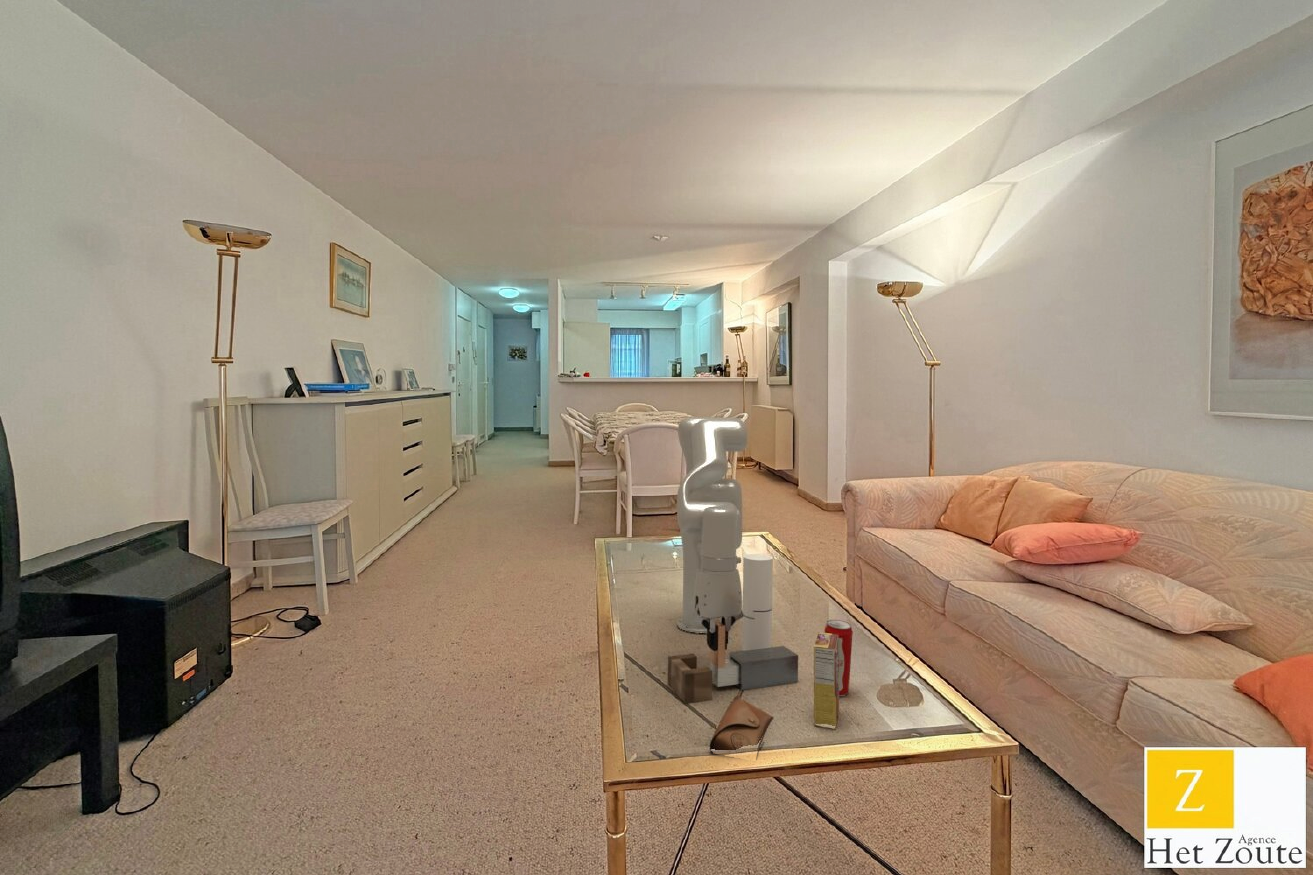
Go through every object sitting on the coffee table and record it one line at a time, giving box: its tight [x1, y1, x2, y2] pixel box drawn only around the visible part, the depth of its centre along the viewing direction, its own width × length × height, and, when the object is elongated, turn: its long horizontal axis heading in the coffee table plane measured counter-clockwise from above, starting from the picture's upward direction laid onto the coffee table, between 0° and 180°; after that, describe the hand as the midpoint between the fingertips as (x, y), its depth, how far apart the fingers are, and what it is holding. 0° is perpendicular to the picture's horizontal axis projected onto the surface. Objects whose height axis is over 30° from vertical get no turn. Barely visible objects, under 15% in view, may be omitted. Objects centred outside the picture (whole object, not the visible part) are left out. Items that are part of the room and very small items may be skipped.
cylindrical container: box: [741, 553, 774, 651], centre depth 144 cm, size 7×7×25 cm
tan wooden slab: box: [709, 619, 741, 688], centre depth 129 cm, size 4×14×13 cm, turn 110°
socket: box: [667, 653, 713, 704], centre depth 125 cm, size 10×6×6 cm, turn 20°
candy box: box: [813, 632, 840, 726], centre depth 114 cm, size 9×4×15 cm, turn 158°
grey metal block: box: [728, 645, 799, 691], centre depth 131 cm, size 6×14×6 cm, turn 109°
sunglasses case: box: [709, 695, 774, 750], centre depth 108 cm, size 18×7×7 cm
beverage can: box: [823, 619, 854, 697], centre depth 126 cm, size 6×6×15 cm
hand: (717, 647), depth 127 cm, fingers closed on tan wooden slab
